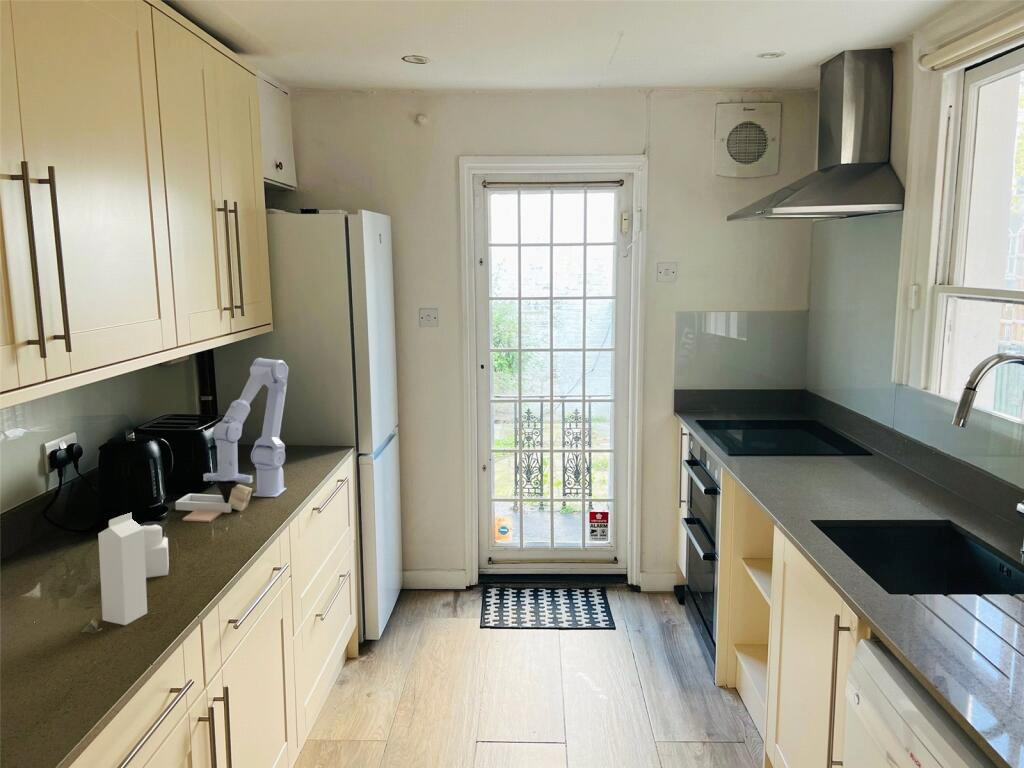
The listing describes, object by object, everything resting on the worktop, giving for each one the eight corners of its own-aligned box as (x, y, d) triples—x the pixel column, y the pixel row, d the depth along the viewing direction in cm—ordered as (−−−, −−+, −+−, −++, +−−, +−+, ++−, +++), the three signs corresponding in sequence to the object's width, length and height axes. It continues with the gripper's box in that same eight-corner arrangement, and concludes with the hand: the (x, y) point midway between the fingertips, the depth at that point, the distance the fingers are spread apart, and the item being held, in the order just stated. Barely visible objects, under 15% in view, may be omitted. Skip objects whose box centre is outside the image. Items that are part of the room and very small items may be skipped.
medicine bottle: (136, 568, 182) (134, 520, 180) (168, 564, 185) (167, 517, 183) (134, 579, 175) (132, 530, 174) (168, 575, 178) (166, 527, 176)
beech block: (233, 501, 231) (238, 484, 230) (247, 506, 230) (252, 488, 229) (227, 506, 226) (232, 488, 225) (241, 511, 226) (246, 493, 225)
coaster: (196, 511, 224) (195, 509, 224) (222, 513, 224) (221, 511, 224) (182, 520, 216) (182, 518, 216) (209, 521, 216) (209, 519, 216)
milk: (102, 620, 155) (96, 518, 152) (125, 608, 161) (120, 509, 157) (125, 625, 153) (119, 522, 150) (148, 613, 159) (143, 513, 156)
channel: (189, 501, 234) (189, 493, 233) (241, 504, 233) (241, 496, 232) (175, 509, 225) (175, 501, 225) (229, 512, 224) (229, 504, 224)
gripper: (197, 463, 223) (199, 507, 225) (245, 465, 222) (246, 509, 224) (209, 457, 230) (210, 500, 232) (255, 459, 229) (255, 502, 231)
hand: (228, 504), depth 229 cm, fingers closed
